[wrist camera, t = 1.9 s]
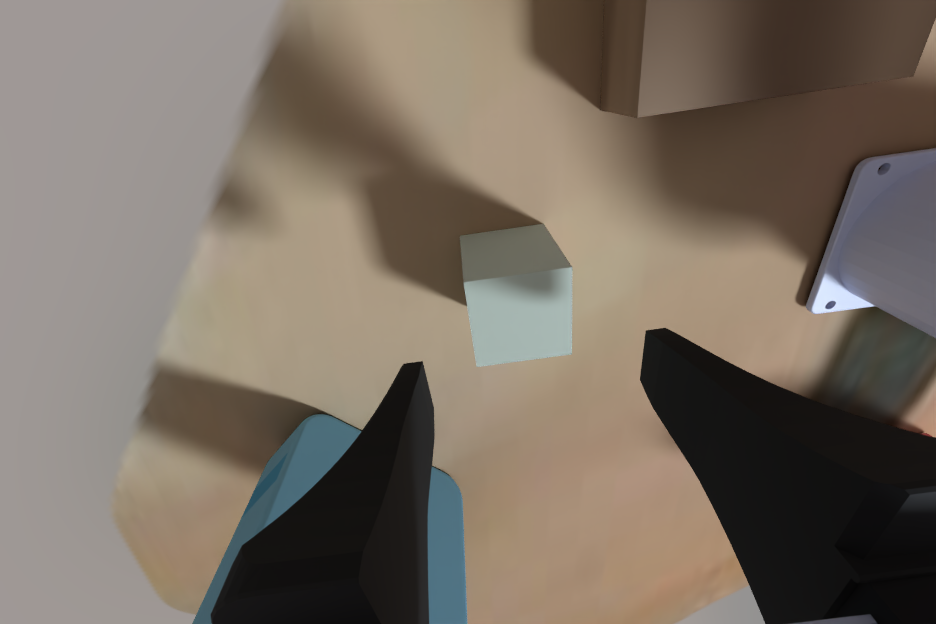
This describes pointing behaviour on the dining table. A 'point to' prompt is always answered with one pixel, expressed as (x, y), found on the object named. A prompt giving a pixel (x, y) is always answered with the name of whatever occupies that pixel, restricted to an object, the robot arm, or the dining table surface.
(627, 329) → the dining table surface
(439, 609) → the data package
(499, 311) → the sage block
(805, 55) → the walnut block
